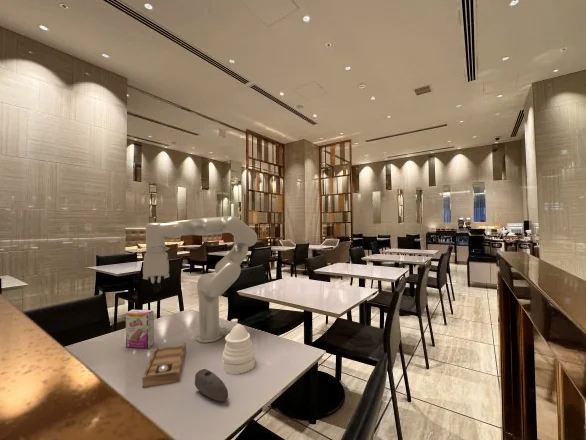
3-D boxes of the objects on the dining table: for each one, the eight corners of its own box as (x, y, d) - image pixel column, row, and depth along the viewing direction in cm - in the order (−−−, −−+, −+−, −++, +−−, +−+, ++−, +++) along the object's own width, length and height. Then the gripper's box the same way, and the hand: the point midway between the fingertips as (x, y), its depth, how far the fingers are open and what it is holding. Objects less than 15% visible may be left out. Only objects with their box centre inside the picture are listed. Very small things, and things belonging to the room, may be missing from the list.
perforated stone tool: (233, 401, 90) (233, 380, 90) (220, 410, 86) (219, 388, 86) (206, 384, 100) (206, 365, 100) (193, 391, 96) (192, 371, 95)
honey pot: (215, 369, 109) (214, 323, 109) (236, 354, 121) (236, 313, 120) (241, 377, 103) (240, 329, 103) (261, 361, 115) (260, 318, 114)
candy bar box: (125, 348, 127) (124, 312, 127) (132, 343, 132) (131, 309, 132) (148, 349, 126) (147, 313, 126) (154, 344, 131) (154, 309, 131)
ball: (169, 373, 107) (169, 362, 108) (168, 377, 103) (168, 366, 104) (158, 375, 106) (158, 364, 106) (156, 379, 102) (156, 367, 103)
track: (156, 354, 121) (156, 346, 121) (185, 350, 124) (185, 342, 124) (142, 387, 98) (142, 377, 98) (179, 381, 101) (178, 372, 101)
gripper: (175, 248, 129) (175, 287, 129) (139, 250, 125) (140, 290, 125) (172, 250, 121) (173, 292, 122) (134, 252, 117) (135, 295, 118)
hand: (156, 291), depth 123 cm, fingers closed
